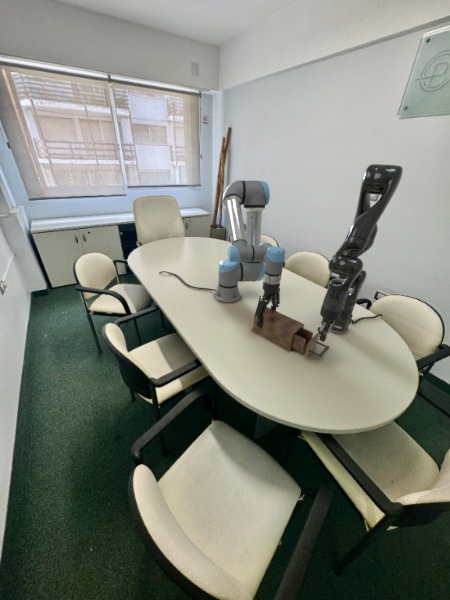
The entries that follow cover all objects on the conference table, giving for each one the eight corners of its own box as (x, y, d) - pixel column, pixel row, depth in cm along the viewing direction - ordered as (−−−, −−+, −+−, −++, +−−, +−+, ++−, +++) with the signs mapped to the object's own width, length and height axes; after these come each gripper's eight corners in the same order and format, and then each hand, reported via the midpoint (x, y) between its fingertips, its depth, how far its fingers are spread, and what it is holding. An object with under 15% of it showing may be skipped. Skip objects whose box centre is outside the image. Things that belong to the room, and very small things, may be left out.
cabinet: (300, 340, 115) (304, 324, 110) (289, 351, 109) (293, 334, 104) (264, 322, 127) (266, 306, 122) (252, 330, 121) (254, 314, 116)
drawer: (327, 353, 107) (332, 339, 103) (318, 364, 101) (323, 350, 97) (278, 328, 121) (281, 315, 117) (268, 336, 116) (270, 323, 112)
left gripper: (263, 293, 99) (258, 335, 110) (292, 276, 113) (284, 315, 125) (249, 287, 103) (245, 328, 114) (278, 271, 117) (272, 309, 129)
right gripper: (335, 316, 86) (323, 352, 95) (349, 302, 94) (337, 337, 103) (315, 308, 90) (306, 343, 99) (330, 295, 98) (320, 329, 107)
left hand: (265, 321), depth 119 cm, fingers closed on cabinet, 10 cm apart
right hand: (322, 340), depth 101 cm, fingers closed
